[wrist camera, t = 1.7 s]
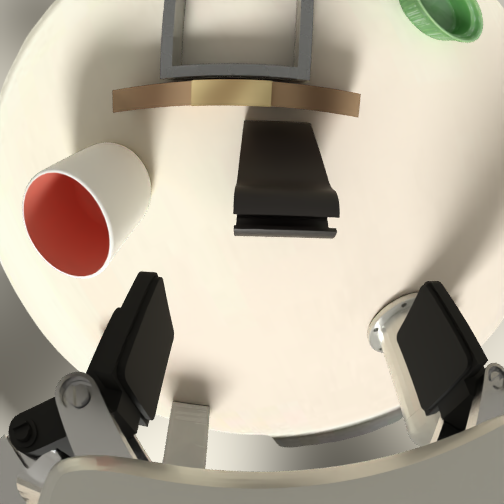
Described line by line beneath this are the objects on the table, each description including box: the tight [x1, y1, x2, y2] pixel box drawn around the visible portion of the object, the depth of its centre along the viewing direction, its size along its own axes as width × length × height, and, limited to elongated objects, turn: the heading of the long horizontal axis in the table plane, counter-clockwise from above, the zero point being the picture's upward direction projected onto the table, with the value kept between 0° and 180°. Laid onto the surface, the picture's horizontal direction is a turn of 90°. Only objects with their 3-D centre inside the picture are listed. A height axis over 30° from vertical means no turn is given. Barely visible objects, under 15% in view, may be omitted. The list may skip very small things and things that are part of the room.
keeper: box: [160, 0, 314, 82], centre depth 16 cm, size 12×15×3 cm
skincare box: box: [163, 402, 209, 469], centre depth 46 cm, size 8×7×16 cm
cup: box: [22, 142, 151, 278], centre depth 22 cm, size 10×10×10 cm
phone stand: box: [233, 121, 340, 238], centre depth 20 cm, size 9×6×12 cm, turn 179°
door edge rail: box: [112, 79, 361, 117], centre depth 20 cm, size 20×2×4 cm, turn 87°
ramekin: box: [399, 0, 483, 42], centre depth 13 cm, size 9×9×4 cm
